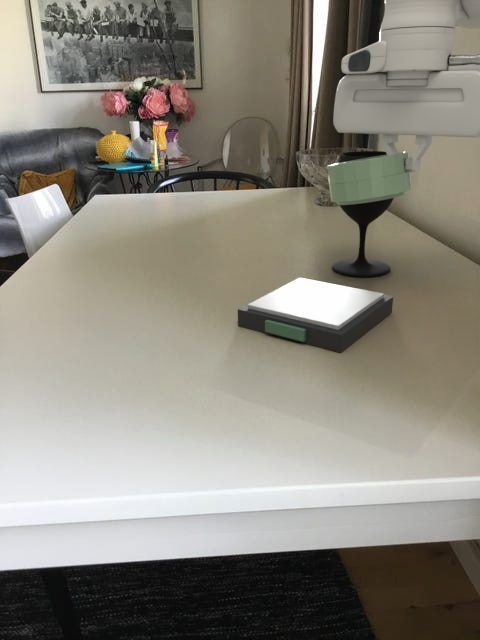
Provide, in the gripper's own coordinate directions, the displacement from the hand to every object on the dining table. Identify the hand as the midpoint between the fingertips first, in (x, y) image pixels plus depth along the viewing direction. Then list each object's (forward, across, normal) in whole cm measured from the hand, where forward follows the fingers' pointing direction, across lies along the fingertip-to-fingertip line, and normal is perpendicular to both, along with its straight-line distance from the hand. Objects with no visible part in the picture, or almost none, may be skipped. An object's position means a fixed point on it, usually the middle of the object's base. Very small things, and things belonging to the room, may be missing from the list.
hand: (403, 170), depth 76 cm
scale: (+20, +7, +9) cm, 23 cm away
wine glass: (+20, +12, -16) cm, 28 cm away
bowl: (+4, +4, 0) cm, 6 cm away
